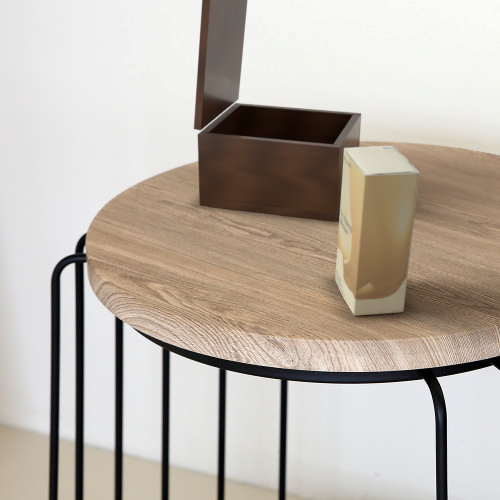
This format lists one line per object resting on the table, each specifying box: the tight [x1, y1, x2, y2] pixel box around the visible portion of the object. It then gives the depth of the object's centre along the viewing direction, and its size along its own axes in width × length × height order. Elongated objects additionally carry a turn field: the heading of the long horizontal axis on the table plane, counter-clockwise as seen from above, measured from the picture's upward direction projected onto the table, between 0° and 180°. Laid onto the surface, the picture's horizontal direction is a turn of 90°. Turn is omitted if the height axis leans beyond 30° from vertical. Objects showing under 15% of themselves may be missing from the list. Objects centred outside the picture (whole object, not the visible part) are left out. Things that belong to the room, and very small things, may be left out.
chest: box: [197, 102, 362, 222], centre depth 86 cm, size 15×13×8 cm
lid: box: [193, 0, 248, 131], centre depth 83 cm, size 15×13×5 cm
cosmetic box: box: [334, 144, 420, 317], centre depth 63 cm, size 6×4×12 cm
